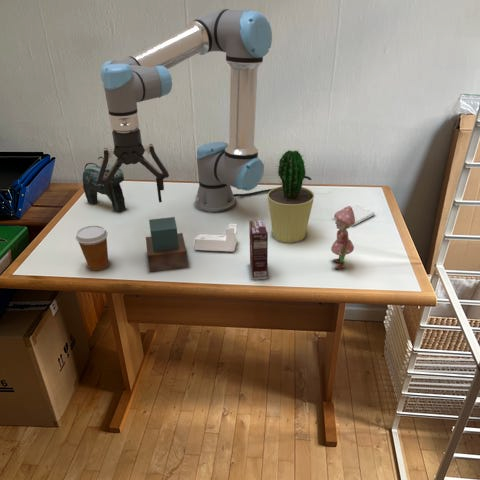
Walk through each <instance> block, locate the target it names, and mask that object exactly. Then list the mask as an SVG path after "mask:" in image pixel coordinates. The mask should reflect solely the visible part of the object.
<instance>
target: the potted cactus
mask: <svg viewBox="0 0 480 480" xmlns="http://www.w3.org/2000/svg"><path fill="white" fill-rule="evenodd" d="M303 157H304V154H302V152H300V151H299V150H294V149H291V150H289V149H287V150H285V151H284V153H283V154H280V158H279V160H278V164H277V165H276V167H277V170H276V173H277V175H278V177H279V179H280V181H278V182H279V183H280V185H279V186H277V187H273V188H274V189H273V188H271V189H272V190H270V191H269V192H267V202H268V208H269V209H268V210H269V215H270V216H269V217H270V223H271V224H270V225H271V232H272V236H273V238H274V239H275V240H276V241H278V242H282V243H289V244H292V243H293V244H294V243H297V242H301V241H302V240H304V239H305V237H306V235H307V230H308V225H309V220H310V217H311V212H312V207H313V204H314V199H315V193H314V192H313V191H312V190H311V189H309V188H307V187H304V186H303V184H304V182H305V180H304V179H305V178H304V177H305V176H306V177H307V176H308V175H307V171H308V169H307V167H306V165H305V164H306V162H307V161H305V158H303ZM306 169H307V170H306Z"/></svg>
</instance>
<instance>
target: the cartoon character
mask: <svg viewBox="0 0 480 480" xmlns="http://www.w3.org/2000/svg"><path fill="white" fill-rule="evenodd" d="M352 207H353V206H351V205H348V206H346V207H344V208H342V209H340V210H338V211H337V212H335V213H334V215H333V216H334V219H335V218H336V219H337V220H336V219H335V220H336V221H335V222H334V224H335V225H336V229H337V232H336V240H335V241H334V242H333V244H332V245H331V248H330V250H331V252H332V254H334V255H337V256H338V258H334V259H333V258H332V262H335V263H339V264H338V265H336V266H334V269H335V270H339V269H343V268H344V267H345V257H346V255H350V254H351V253H352V252H353V251H354V250H355V246H354V244H353V241H352V240H351V239H349V232H348V230H349V229H350V228H351V227H352V226H351V225H354V224H355V217H354V212H353V209H352ZM354 226H355V225H354ZM347 229H348V230H347Z"/></svg>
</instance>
